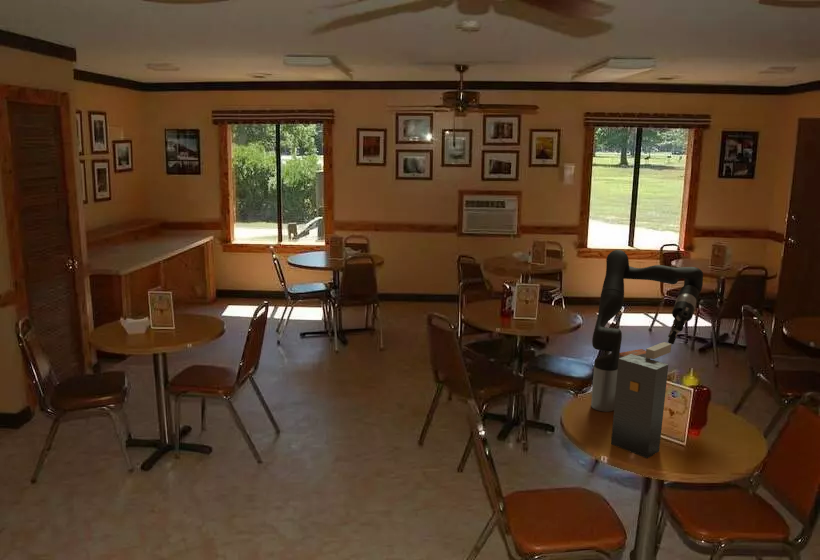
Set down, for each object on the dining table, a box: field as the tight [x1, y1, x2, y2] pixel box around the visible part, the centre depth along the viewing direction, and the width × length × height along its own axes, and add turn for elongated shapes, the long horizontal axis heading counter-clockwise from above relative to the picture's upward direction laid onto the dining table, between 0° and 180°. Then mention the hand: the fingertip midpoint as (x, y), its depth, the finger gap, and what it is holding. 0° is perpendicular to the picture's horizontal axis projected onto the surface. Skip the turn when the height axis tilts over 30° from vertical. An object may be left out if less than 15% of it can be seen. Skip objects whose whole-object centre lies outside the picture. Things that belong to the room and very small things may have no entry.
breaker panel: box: [610, 354, 669, 459], centre depth 229 cm, size 9×14×32 cm, turn 41°
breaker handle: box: [645, 341, 673, 360], centre depth 232 cm, size 12×3×3 cm, turn 131°
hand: (674, 336), depth 252 cm, fingers open, 8 cm apart
